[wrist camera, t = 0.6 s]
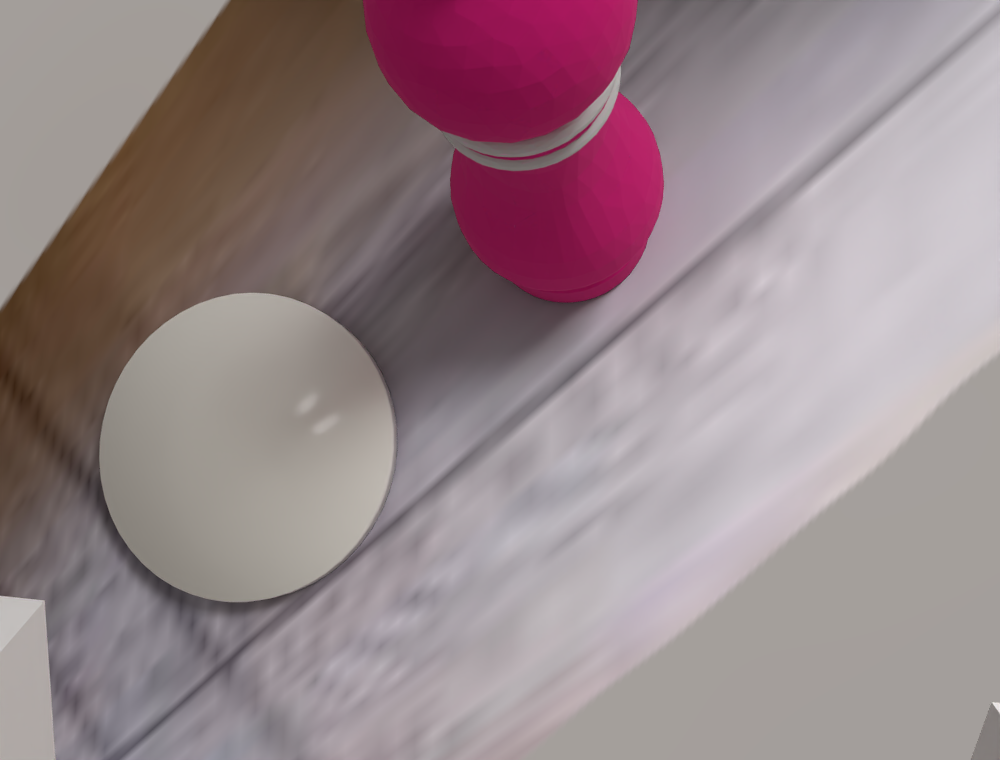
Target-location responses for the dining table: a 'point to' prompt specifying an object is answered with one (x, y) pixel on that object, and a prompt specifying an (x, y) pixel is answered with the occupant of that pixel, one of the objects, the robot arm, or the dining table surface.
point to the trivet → (247, 448)
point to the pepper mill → (532, 132)
